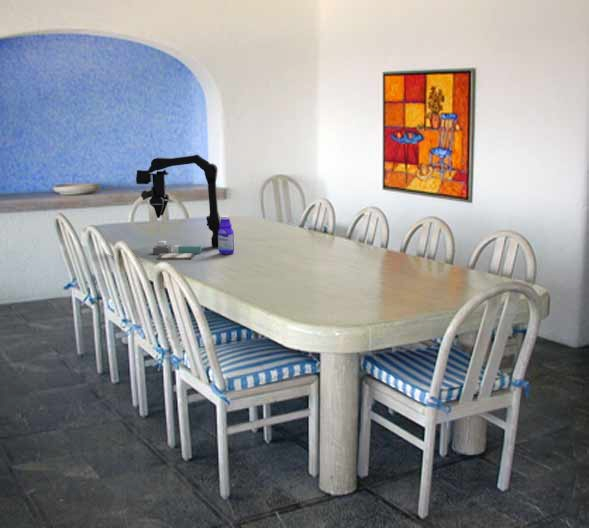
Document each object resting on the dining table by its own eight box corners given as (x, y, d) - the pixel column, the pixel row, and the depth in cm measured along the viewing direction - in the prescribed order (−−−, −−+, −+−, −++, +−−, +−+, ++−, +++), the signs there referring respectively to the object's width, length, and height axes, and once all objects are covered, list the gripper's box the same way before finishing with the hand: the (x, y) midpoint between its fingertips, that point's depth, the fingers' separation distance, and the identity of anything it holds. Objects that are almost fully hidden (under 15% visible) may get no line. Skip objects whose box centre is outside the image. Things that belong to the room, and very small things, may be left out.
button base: (170, 251, 361) (170, 245, 360) (168, 254, 354) (168, 247, 353) (156, 251, 361) (155, 245, 360) (153, 254, 354) (152, 247, 353)
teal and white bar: (201, 252, 358) (200, 245, 357) (200, 254, 355) (199, 246, 354) (175, 252, 358) (175, 245, 357) (174, 254, 355) (173, 246, 354)
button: (167, 247, 359) (166, 240, 358) (165, 248, 355) (165, 242, 354) (158, 247, 359) (158, 240, 358) (156, 248, 355) (156, 242, 354)
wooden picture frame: (194, 254, 353) (194, 251, 353) (190, 259, 342) (190, 256, 342) (161, 254, 353) (161, 251, 353) (157, 259, 342) (156, 256, 342)
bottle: (216, 253, 354) (215, 216, 351) (223, 251, 359) (222, 214, 356) (229, 255, 351) (228, 217, 347) (236, 253, 356) (235, 215, 352)
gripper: (145, 182, 376) (147, 214, 379) (137, 186, 358) (139, 219, 361) (168, 182, 376) (169, 214, 379) (161, 186, 358) (163, 219, 361)
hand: (160, 216), depth 370 cm, fingers open, 9 cm apart
